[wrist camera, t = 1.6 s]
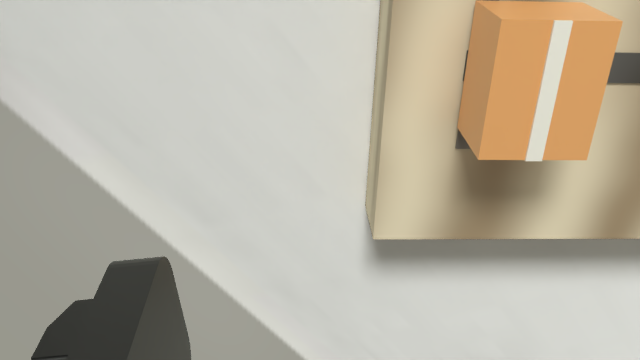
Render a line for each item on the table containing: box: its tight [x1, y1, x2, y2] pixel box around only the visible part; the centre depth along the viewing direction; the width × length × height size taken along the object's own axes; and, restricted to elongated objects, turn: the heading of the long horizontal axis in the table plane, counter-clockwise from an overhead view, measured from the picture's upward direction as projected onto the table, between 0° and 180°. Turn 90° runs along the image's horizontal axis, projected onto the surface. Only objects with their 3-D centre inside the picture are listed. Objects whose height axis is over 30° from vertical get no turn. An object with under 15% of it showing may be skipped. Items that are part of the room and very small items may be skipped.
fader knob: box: [457, 0, 623, 161], centre depth 22 cm, size 4×5×3 cm
